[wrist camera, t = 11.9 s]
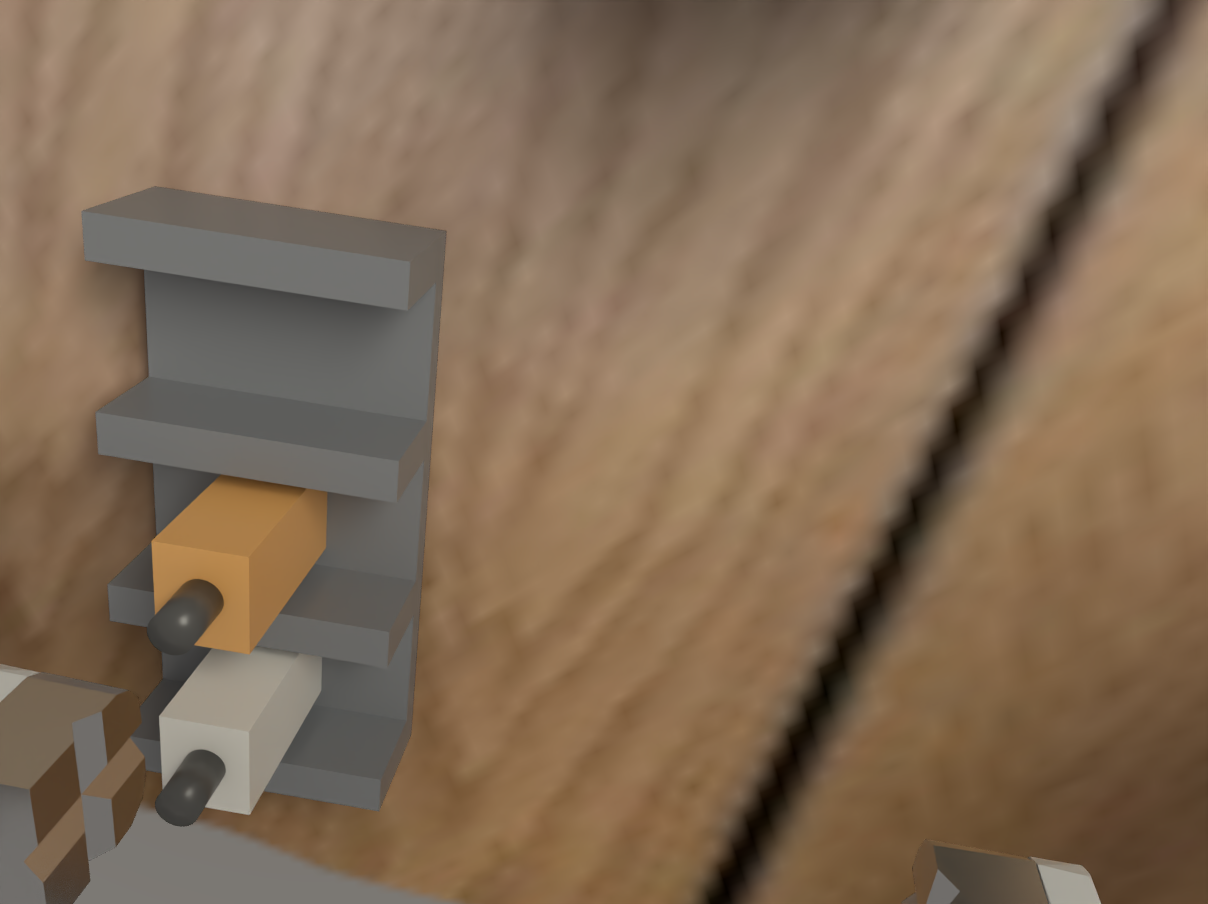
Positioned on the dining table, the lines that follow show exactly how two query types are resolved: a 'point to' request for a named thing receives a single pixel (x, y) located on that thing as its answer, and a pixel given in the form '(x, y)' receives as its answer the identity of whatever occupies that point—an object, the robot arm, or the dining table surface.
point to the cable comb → (290, 441)
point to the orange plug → (233, 563)
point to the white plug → (232, 729)
